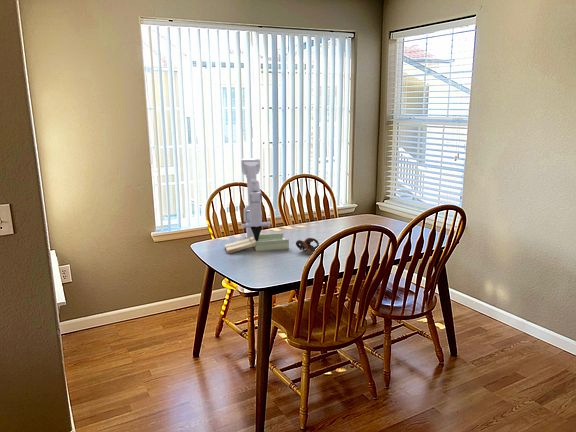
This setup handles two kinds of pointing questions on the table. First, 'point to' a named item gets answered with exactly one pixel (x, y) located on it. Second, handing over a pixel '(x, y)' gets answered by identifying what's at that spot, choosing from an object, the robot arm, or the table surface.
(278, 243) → the green tray
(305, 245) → the brown looped figurine
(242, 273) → the table surface
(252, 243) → the cover plate
